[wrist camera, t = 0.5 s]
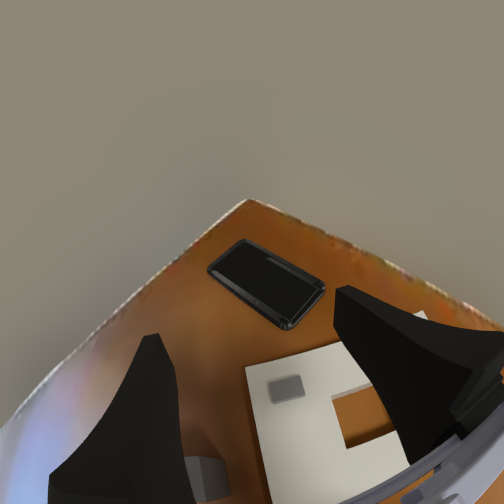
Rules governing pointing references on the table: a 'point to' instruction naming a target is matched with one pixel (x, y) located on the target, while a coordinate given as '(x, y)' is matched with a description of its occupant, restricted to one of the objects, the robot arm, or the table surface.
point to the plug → (207, 478)
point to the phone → (267, 283)
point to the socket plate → (316, 429)
